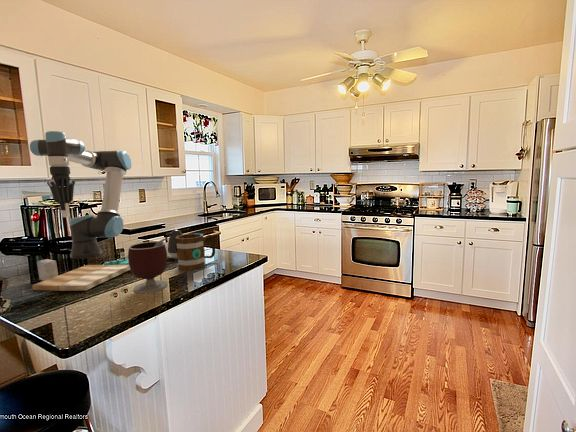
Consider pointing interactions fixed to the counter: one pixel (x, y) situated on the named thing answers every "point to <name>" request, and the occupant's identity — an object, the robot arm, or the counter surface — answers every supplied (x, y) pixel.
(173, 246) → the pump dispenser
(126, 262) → the alien figure
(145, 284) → the mate gourd
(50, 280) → the oak board
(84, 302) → the counter surface
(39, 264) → the medicine box
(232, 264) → the counter surface
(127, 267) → the ash plank
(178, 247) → the mug
